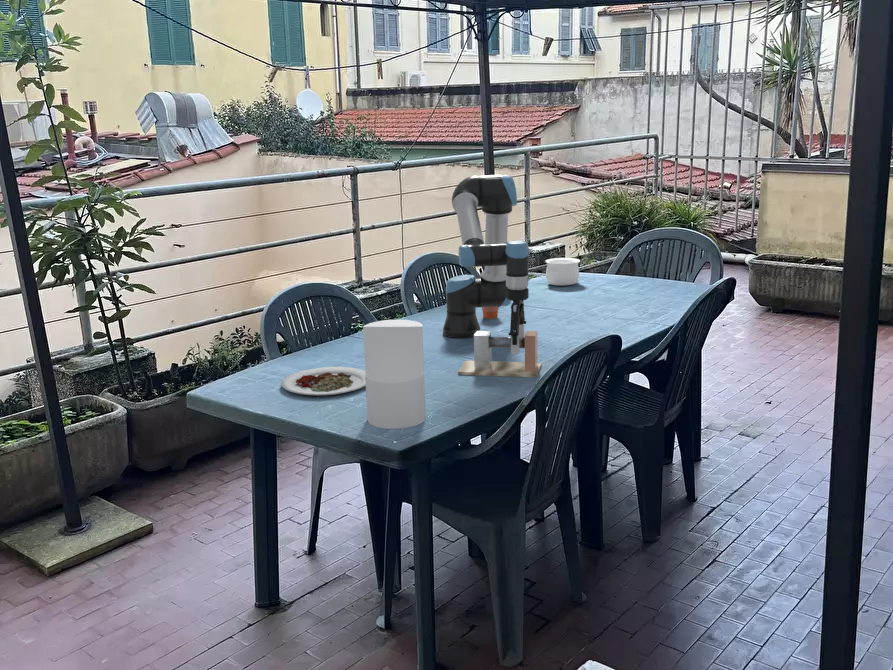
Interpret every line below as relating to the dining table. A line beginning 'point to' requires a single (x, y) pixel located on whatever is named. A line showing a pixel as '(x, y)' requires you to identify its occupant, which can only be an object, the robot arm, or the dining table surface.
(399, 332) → the cylinder
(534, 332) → the tan upright block
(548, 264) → the pot
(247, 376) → the dining table surface
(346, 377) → the plated food
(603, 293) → the dining table surface
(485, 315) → the cup with straw
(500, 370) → the base board
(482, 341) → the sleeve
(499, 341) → the rod
